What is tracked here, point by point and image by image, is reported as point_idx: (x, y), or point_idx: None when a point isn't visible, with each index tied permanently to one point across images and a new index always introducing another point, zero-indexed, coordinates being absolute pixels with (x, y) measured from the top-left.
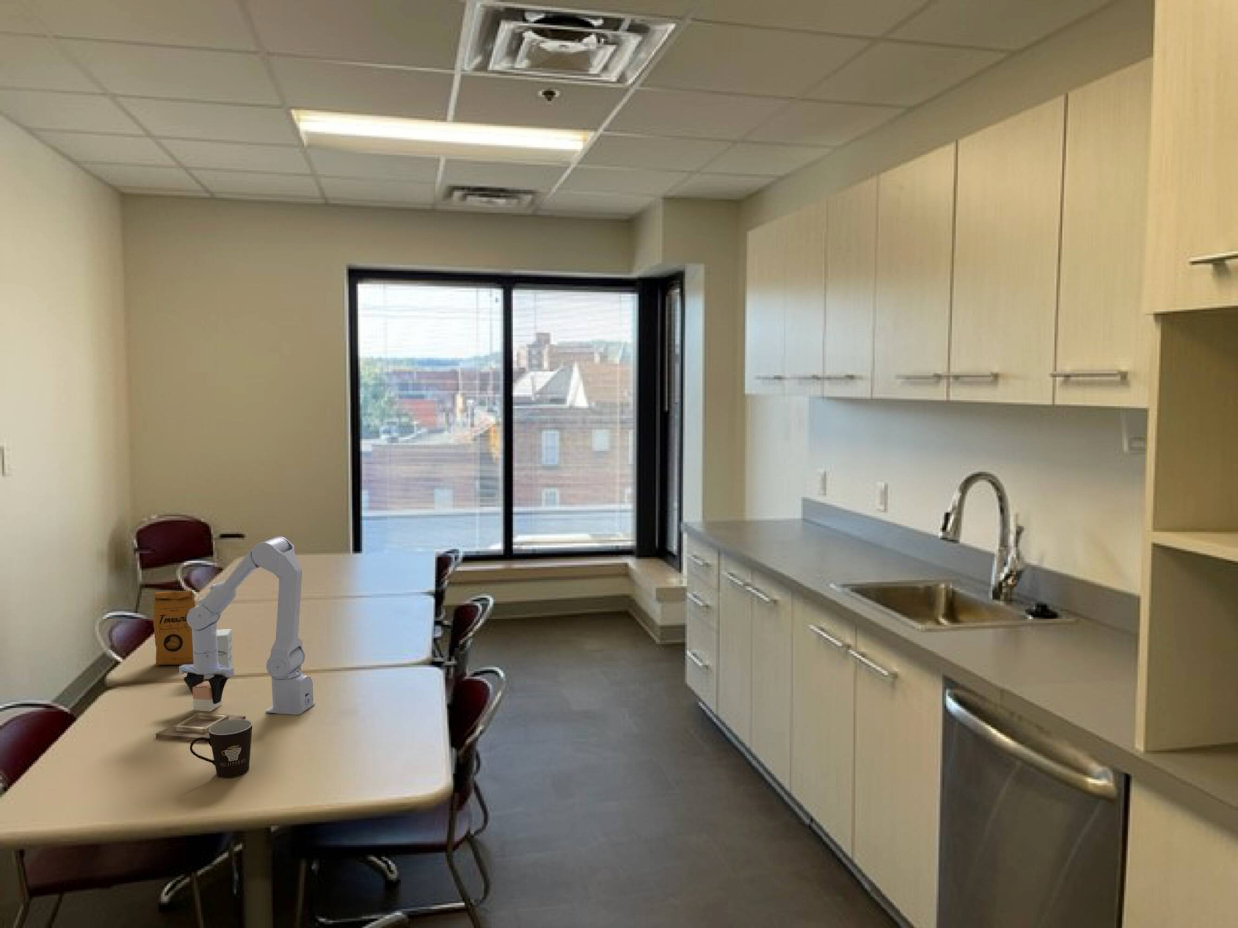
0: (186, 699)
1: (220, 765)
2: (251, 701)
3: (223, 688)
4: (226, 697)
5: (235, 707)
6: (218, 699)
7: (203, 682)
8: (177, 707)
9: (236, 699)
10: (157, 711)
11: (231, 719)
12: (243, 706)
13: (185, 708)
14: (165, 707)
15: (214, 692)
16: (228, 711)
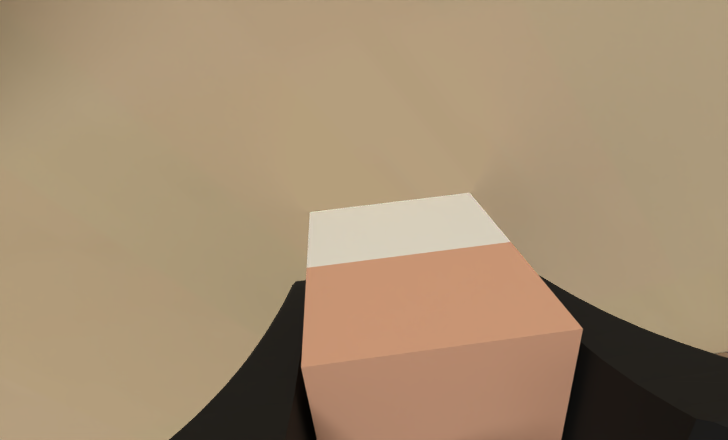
0: (42, 192)
1: None
2: (696, 49)
3: (598, 312)
4: (382, 22)
5: (613, 210)
6: None
7: (330, 407)
8: (167, 339)
9: (523, 44)
10: (110, 420)
11: None
12: (669, 174)
13: (245, 334)
14: (80, 364)
15: None
16: (598, 282)
